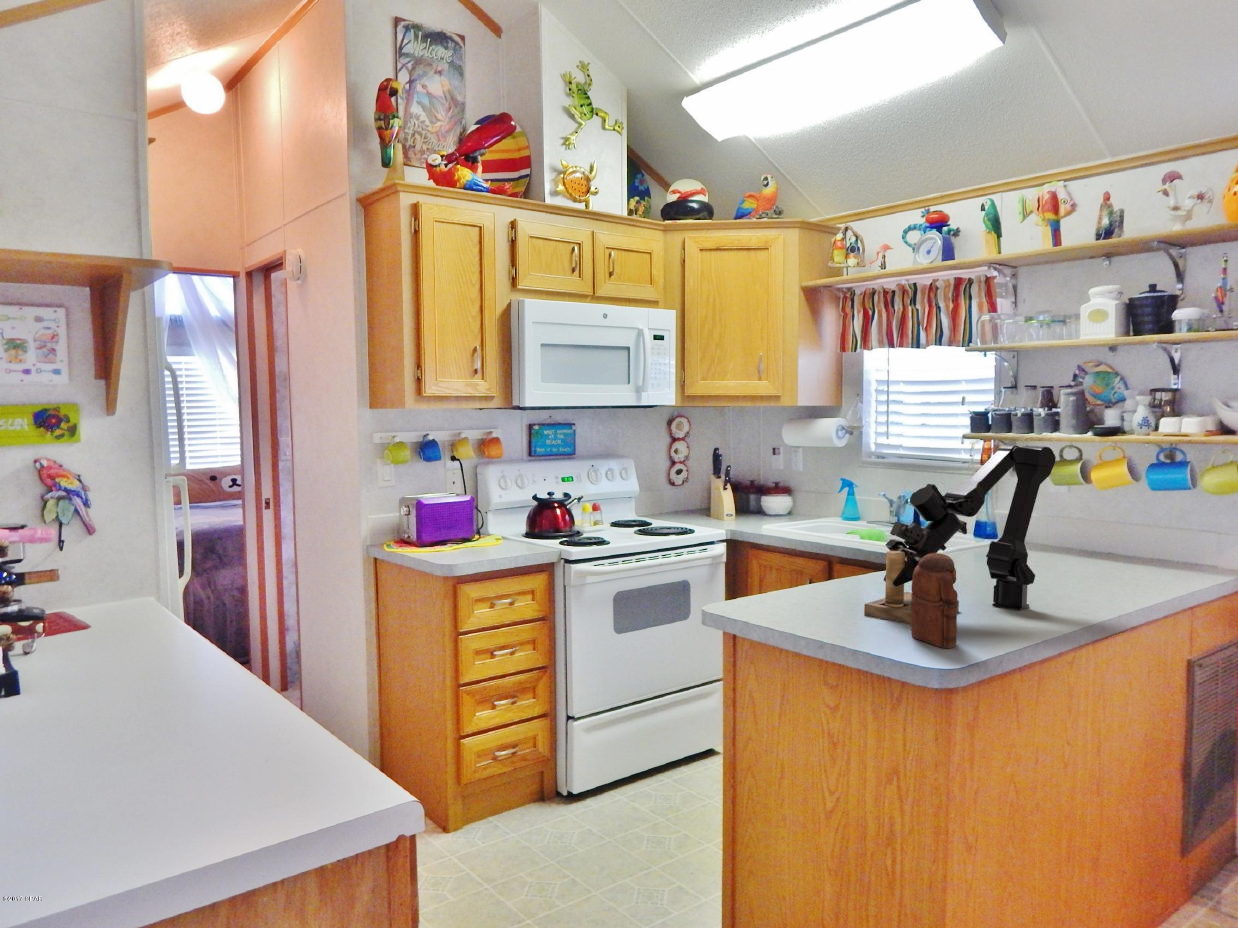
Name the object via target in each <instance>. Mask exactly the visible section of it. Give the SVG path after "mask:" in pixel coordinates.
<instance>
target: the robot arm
mask: <svg viewBox="0 0 1238 928" xmlns="http://www.w3.org/2000/svg"><path fill="white" fill-rule="evenodd" d="M1056 456H1057V455H1056V454H1055V452H1054V450H1053V449H1052V448H1051V447H1049V446H1041V445H1040V446H1037V445H1023V446H1019V445H1012V444H1009V445H1007V444H1004V445H1003V444H1002V445H1000V446H999V447H998V448H997V449H996V452H995V453H994V454H993V455H992V456H991V457H990V458H989V459H988V460H987V461H986V462H985V463H984V464H983V465H982V466H981V467H980V468H979V469H978V470H977V471H976V472H975V473H974V474H973V475H972V476H971V477H970V478H969V479H968V480H966V481H965V482H962V483H959V484H956V485H955V486H954V487H952V488H951V489H949V490H948V491H947V492H945V494H944V495H943V494H942V493H941V492H940V491H939V489H938V487H937V485H936V484H934V483H933V484H932V483H927V484H926V485H925V486H924V487H921V488H919V489H918V490H916V491H915V492H913V493H912V494H911V496H910V497H909V503H910V504H911V506H912V507H913V508H914V509H915V511H916V512H917V513H918V515H919V516H920V518H922V519H923V520H924V521H925V522H928V523H927V524H926V525H925V527H924V528H923V527H922V526H921V525H919V524H917V523H914V522H912V523H910V524H909V525H908V524H906V523H903V522H901V521H900V522H899V521H896V520H895V522H894V524H893V526H892V528H891V530H890V532H889V534H890V535H891V536H896V537H898V538H899V539H895V538H892V539H891V538H890V539H889V540H888V541H887V542H886V544H885V547H886V548H887V549H888V551H899V552H904V553H905V566H904V568H903V569H902V570H901V572H900V573H899V574H898V576H897V577H896V578H895V580H894V581H893V583H892V584H893V585H894V586H895V587H897V586H899V585H902V584H904V585H905V584H906V583H907V584H908V583H910V582H912V578H913V572H914V570H915V568H916V566H917V565H918V562H919V561H920V560H921V558H923V557H924V556H925V555H927V554H931V553H938V552H939V551H945V550H946V549H947V546H946V544H947V543H948V542H949V540H951V539H952V538H953V537H954V536H955V535H956V534H957V532H958V533H961V534H962V535H967V534H968V529H967V525H968V523H967V522H966V521H964V520H961V519H959V517H958V516H960V517H961V516H962V517H967V518H968V517H969V518H972V517H974V516H976V515H977V514H978V513H979V511H980V510H981V509H982V507H983V506H984V504H985V501H986V496H987V493H989V491H990V490H992V488H993V487H995V485H996V484H997V483H998V482H999V481H1000V480H1002V478H1003V477H1005V475H1006V474H1007V473H1008V472H1009V471H1010V470H1011V469H1012V468H1013V469H1014V473H1015V474H1016V477H1017V480H1016V481H1017V482H1016V484H1015V488H1014V492H1013V496H1012V500H1011V503H1010V506H1009V511H1008V513H1007V517H1006V521H1005V525H1004V529H1003V533H1002V535H1001V537H1000V538H999V539H998V540H997V541H994V540H991V541H990V543H989V547H988V551H987V553H986V555H985V557H986V566H987V568H988V571H989V577H990V579H992V580H995V584H994V586H993V596H992V597H993V598H992V602H993V603H992V604H991V606H992V607H997V608H1005V609H1008V610H1009V609H1010V610H1016V611H1021V610H1024V609H1027V608H1029V607H1030V604H1028V586H1030V585H1034V583H1035V579H1036V574H1035V573H1034V570H1032V569H1031V567H1030V566H1029V565H1028V557H1029V553H1028V551H1027V547H1026V544H1025V541H1026V537H1027V533H1028V530H1029V526H1030V523H1031V519H1032V516H1033V512H1034V508H1035V504H1036V501H1037V498H1038V494H1039V493H1038V492H1039V490H1040V487H1041V484H1042V483H1043V482H1044V481H1045V480H1047V478H1049V476H1050V475H1051V473H1052V472H1053V468H1054V466H1055V463H1056V460H1057V459H1056V458H1057V457H1056ZM900 539H901V540H900ZM884 575H885V576H884V578H883V581H884V583H886V574H884Z"/></svg>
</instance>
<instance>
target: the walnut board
mask: <svg viewBox="0 0 1238 928" xmlns="http://www.w3.org/2000/svg"><path fill="white" fill-rule="evenodd" d="M911 594H912V591H904V607H903V608H894V607H888V606H885V598H881V599H877V600H873V601H870V602H866V603H864V607H863V608H864V610H863V611H864V613H863V615H865V616H869V617H873V618H879V619H885V620H889V621H894V622H895V621H896V622H898V623H904V624H909V625H911V599H912V597H911ZM956 605H957V612H959V607H960V606H959V605H960V600H958V599H957V603H956Z"/></svg>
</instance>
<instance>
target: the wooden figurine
mask: <svg viewBox="0 0 1238 928" xmlns="http://www.w3.org/2000/svg"><path fill="white" fill-rule="evenodd" d="M956 581H957V570H956V568H955V562H954V560H953V559H952V558H951V557H950V556H949V555H947V554H944V553H940V552H939V553H938V552H937V553H931V554H927V555H925V556H924V557H923V558H921V560H920V561H919V562H918V565H917V566H916V568H915V570H914V572H913V578H912V581H911V593H912V594H911V597H912V599H911V624H910V626H911V629H910V631H911V632H910V633H911V636H912V637H913V638H914V639H916V640H920V641H921V642H924V643H928V644H930V645H934V646H935V647H939V648H940V647H941V649H946V648H947V649H952V648H955V647H956V645H957V639H958V638H957V635H958V628H957V627H958V624H957V623H958V622H957V621H958V618H957V617H958V611H957V605H956V603H957V600H958V595H959V594H958V591H957V590H956V589H955V588H954V584H955V583H956Z"/></svg>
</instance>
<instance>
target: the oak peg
mask: <svg viewBox="0 0 1238 928" xmlns="http://www.w3.org/2000/svg"><path fill="white" fill-rule="evenodd" d="M885 559H886V560H885V561H886V562H885V565H886V566H885V575H886V582H885V596H884V597H885V606H888V607H894V608H903V607H904V592H905V583H904V584H902V585H899V586H897V587H895V586H894V585H893V584H892V583H893V581H894V580H895V578H896V577H897V576H898V574H899V573H900V572H901V570H902V569H903V568H904V566H905V553H904V552H899V551H890V550H888V551H886V557H885Z"/></svg>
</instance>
